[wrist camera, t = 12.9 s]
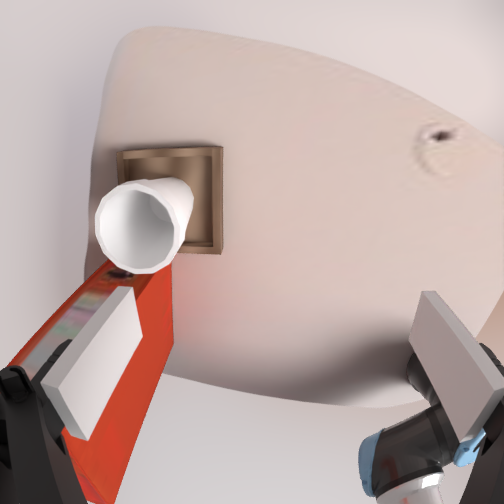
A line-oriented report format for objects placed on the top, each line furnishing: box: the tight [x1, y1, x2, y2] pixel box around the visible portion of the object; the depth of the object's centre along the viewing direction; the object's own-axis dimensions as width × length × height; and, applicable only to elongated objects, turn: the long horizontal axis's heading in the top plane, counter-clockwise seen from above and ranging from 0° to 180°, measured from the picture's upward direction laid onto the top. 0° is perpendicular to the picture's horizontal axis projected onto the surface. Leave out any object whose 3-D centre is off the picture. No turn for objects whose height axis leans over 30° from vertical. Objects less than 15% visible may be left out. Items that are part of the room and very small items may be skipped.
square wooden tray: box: [117, 147, 223, 255], centre depth 41 cm, size 14×14×2 cm
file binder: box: [7, 259, 174, 504], centre depth 33 cm, size 8×17×32 cm, turn 174°
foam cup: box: [95, 177, 194, 274], centre depth 35 cm, size 10×9×13 cm
